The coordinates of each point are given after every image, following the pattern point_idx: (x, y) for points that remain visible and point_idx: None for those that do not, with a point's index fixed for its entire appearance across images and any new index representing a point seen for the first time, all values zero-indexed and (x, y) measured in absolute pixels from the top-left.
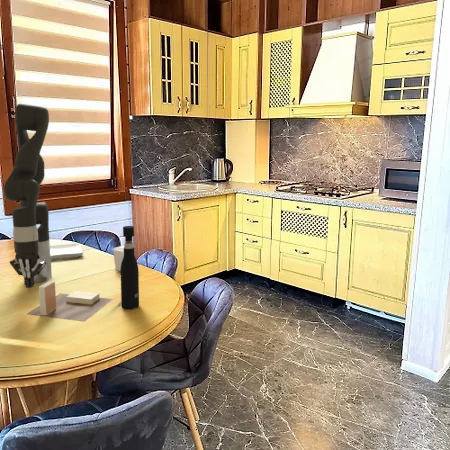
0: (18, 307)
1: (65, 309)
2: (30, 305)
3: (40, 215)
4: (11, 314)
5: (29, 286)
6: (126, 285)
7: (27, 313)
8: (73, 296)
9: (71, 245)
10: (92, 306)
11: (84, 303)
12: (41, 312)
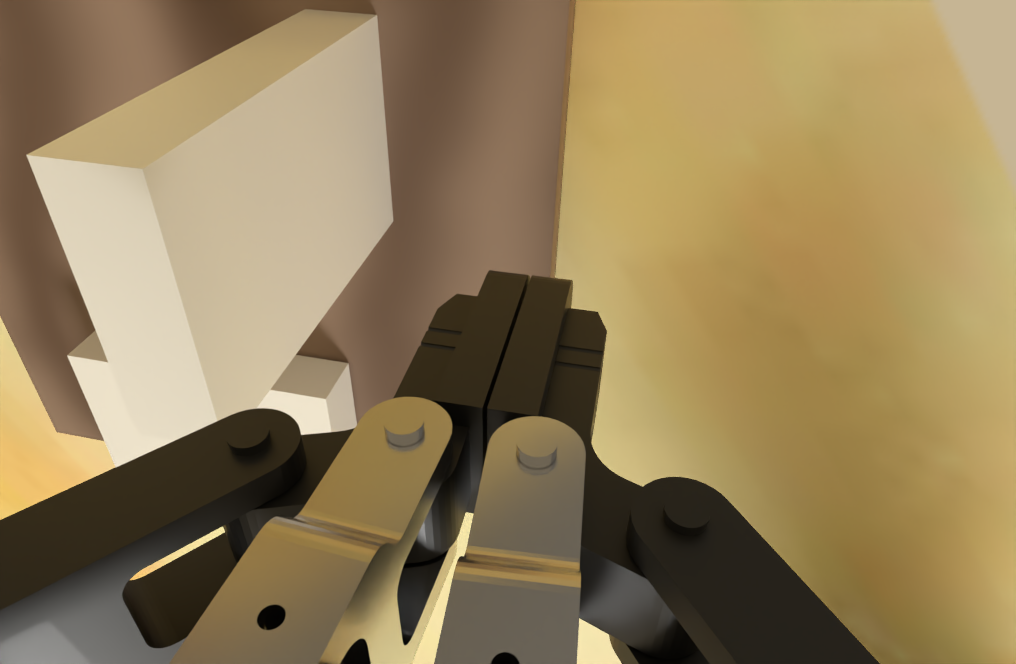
0: (835, 247)
1: None
2: (715, 308)
3: None
4: (831, 35)
5: (483, 283)
6: None
7: (562, 14)
8: (263, 405)
9: None
10: (66, 290)
11: None
12: (353, 21)
